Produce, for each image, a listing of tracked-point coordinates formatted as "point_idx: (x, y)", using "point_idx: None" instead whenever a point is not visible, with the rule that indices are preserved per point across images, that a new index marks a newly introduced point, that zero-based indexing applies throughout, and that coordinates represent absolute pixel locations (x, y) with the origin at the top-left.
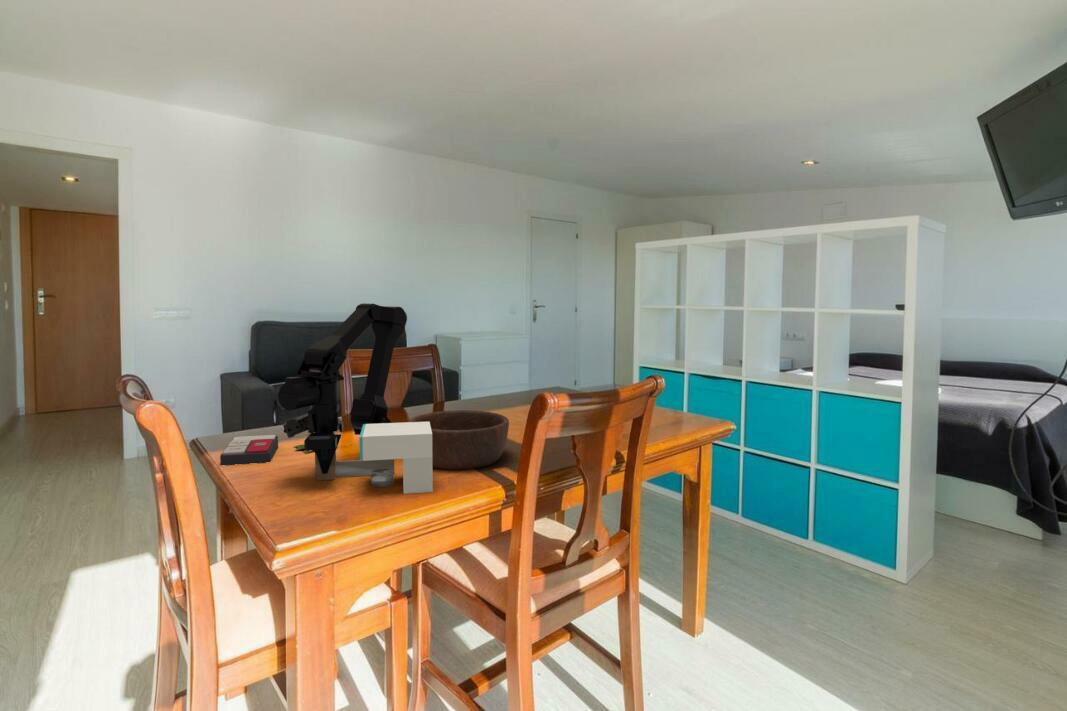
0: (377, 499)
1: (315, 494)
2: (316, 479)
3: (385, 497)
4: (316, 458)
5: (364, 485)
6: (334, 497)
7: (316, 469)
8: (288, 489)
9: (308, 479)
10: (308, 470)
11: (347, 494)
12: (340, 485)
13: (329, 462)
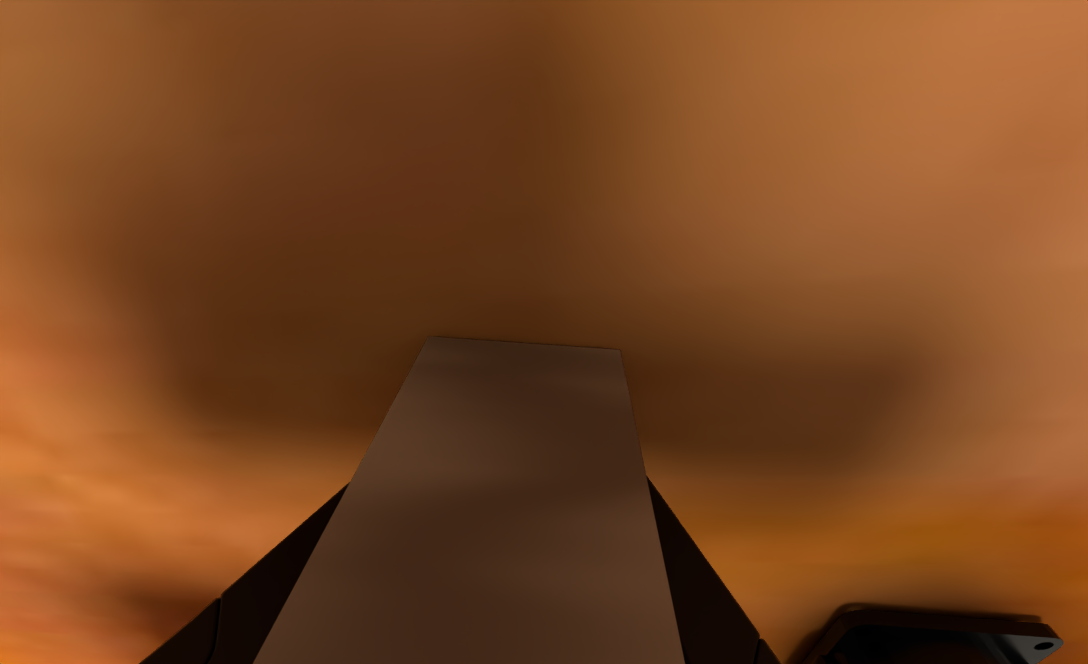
0: (71, 618)
1: (25, 351)
2: (426, 349)
3: (114, 640)
4: (302, 596)
5: None
6: (14, 467)
7: (388, 430)
8: (82, 44)
9: (492, 262)
10: (892, 235)
11: (105, 525)
12: (292, 497)
13: None
